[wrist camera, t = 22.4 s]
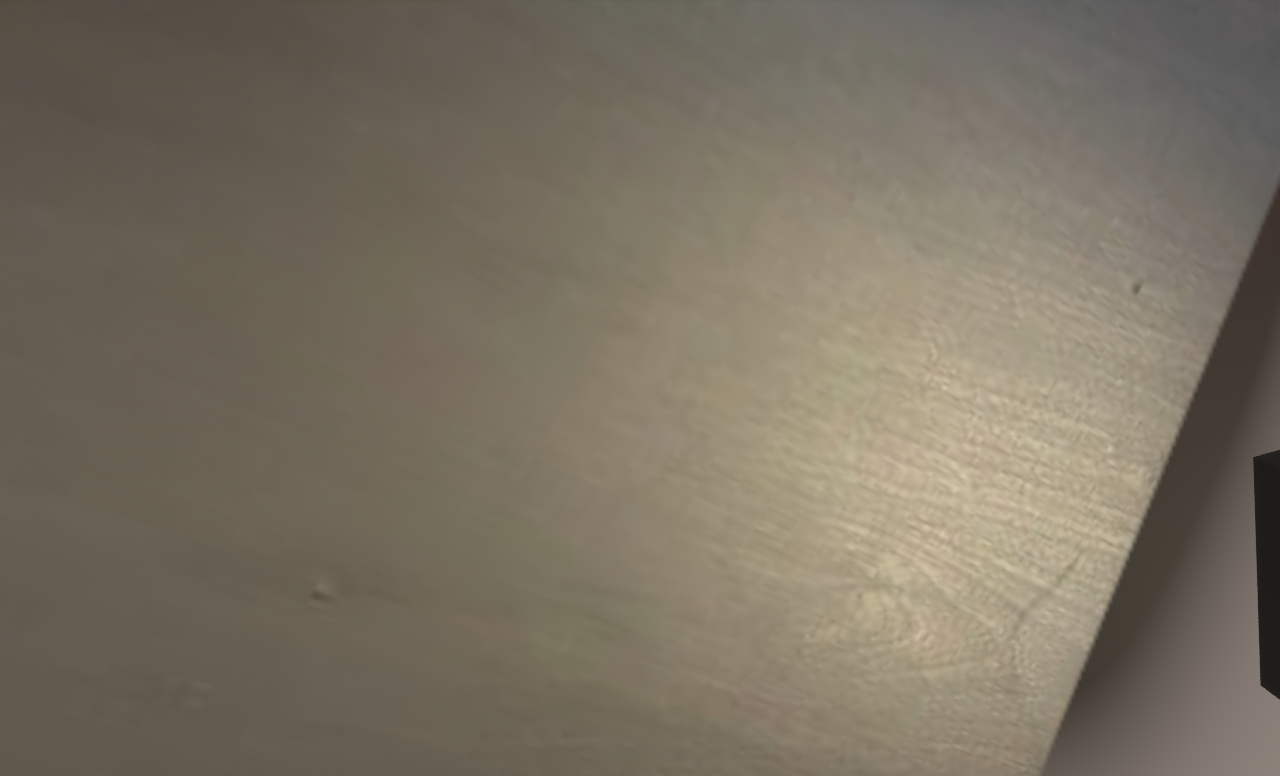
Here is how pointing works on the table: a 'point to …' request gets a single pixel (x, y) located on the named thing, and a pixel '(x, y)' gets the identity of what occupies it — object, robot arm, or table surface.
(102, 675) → the table surface
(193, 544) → the table surface
